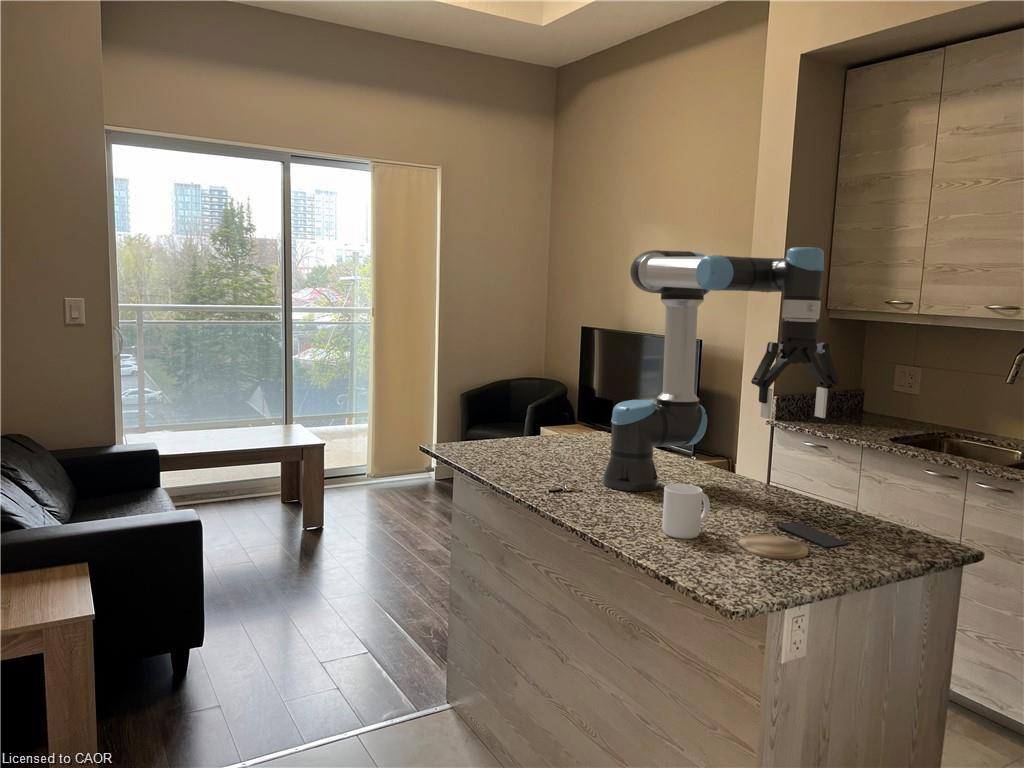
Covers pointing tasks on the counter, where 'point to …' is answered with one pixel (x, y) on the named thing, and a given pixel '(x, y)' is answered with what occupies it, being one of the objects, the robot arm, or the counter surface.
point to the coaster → (773, 546)
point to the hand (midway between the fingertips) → (792, 417)
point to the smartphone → (812, 535)
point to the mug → (683, 510)
